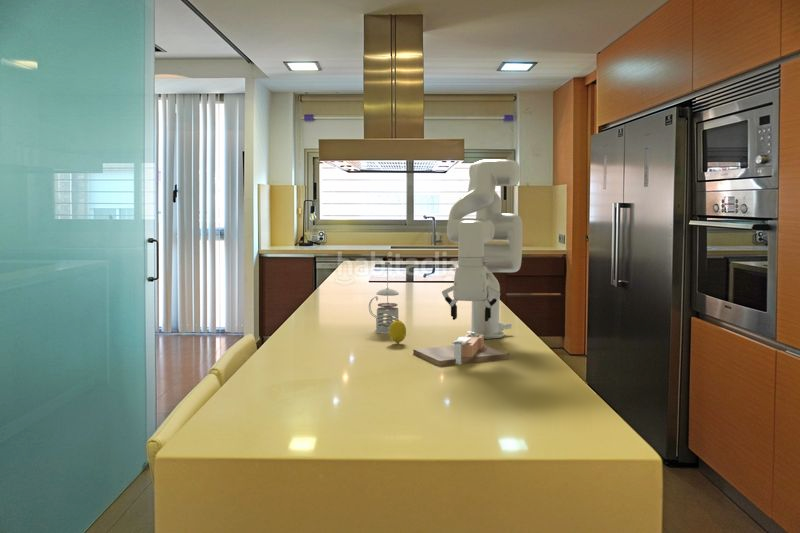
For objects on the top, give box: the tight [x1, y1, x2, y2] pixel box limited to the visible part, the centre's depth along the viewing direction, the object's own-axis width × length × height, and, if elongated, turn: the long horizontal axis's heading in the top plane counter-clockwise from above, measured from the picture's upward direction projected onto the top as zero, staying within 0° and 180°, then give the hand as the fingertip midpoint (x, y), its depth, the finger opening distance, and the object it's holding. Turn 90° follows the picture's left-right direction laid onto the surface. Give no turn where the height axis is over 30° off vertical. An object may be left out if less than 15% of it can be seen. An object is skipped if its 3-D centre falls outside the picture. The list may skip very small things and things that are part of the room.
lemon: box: [388, 318, 407, 345], centre depth 222 cm, size 6×6×8 cm
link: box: [463, 333, 485, 357], centre depth 204 cm, size 17×5×4 cm, turn 164°
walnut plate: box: [412, 344, 510, 367], centre depth 204 cm, size 23×17×2 cm
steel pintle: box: [470, 332, 477, 337], centre depth 210 cm, size 2×2×4 cm
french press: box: [368, 261, 400, 335], centre depth 243 cm, size 10×12×25 cm
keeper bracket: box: [451, 336, 471, 366], centre depth 197 cm, size 8×4×6 cm, turn 159°
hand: (470, 319), depth 204 cm, fingers open, 9 cm apart
